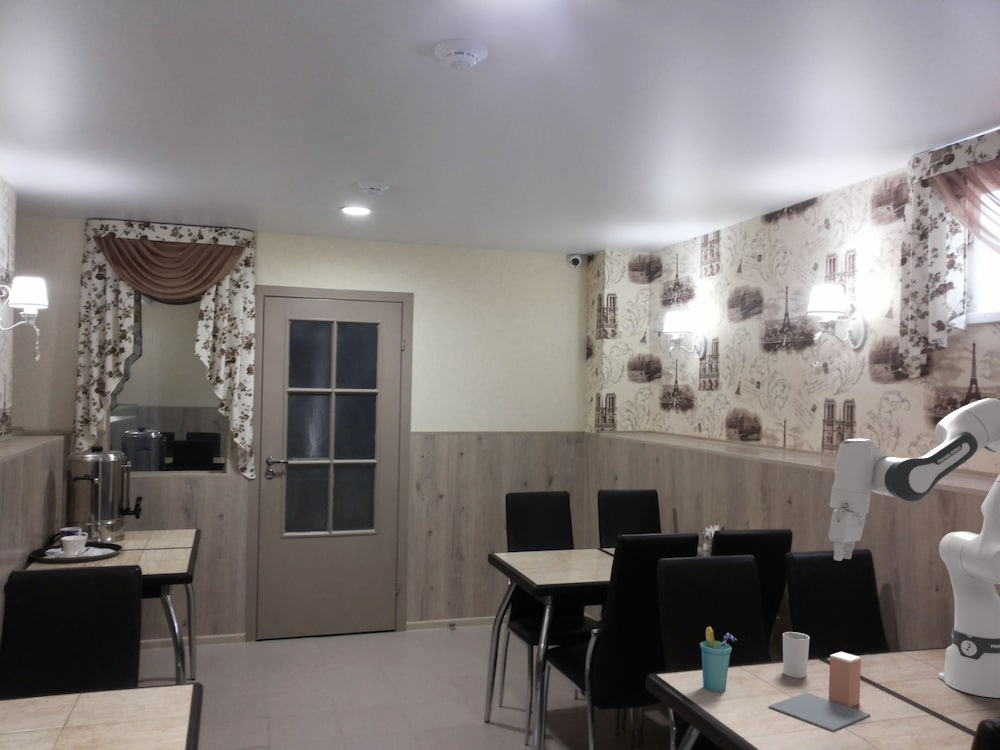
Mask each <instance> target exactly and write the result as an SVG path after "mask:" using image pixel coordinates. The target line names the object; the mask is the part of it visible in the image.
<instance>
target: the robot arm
mask: <svg viewBox="0 0 1000 750" xmlns="http://www.w3.org/2000/svg"><path fill="white" fill-rule="evenodd" d="M934 430H935V431H934V436H935V440H936V442H937V444H938V446H937V447H935V448H934V449H932V450H930V451H929V452H928V453H926V454H924V455H923V456H921V457H920V456H919V457H912V458H911V457H910V458H909V457H907V458H905V457H895V456H891V455H889V454H888V453H886V452H885V451H883V450H882V449H881V448H879V447H878V446H877V444H875V441H874V440H873V439H868V438H848V439H847V438H846V439H844V440H843V441H842V442H841V443H840V444H839V446H838V450H837V454H836V458H835V463H834V482H833V484H832V488H831V494H830V501H829V507H830V508H833V511H832V514H831V520H830V524H829V530H828V540H829V541H831V542H833V560H834V561H838V562H840V561H843V559H845V560H850V559H851V558H852V556H853V555H852V554H853V550H854V547H855V542H860V541H861V539H862V536H863V531H864V529H865V528H864V527H865V522H866V518H867V514H869V512H870V506H871V505H870V504H871V502H870V501H871V496H872V495H871V494H872V492H873V493H874V494H878V495H882V496H883V495H884V496H887V497H892V498H896V499H897V498H898V499H900V500H903V501H907V502H918V501H920V500H923V499H924V498H925V497H927V496H928V495H929V493H931V491H932V490H933V489H934V487H935V486H936V484H937V483H938V482H939V481H940V480H941V479H943V478H945V477H946V476H948V475H949V474H950V473H951V472H952V471H955V469H958V467H960V466H961V465H963V464H964V463H965V462H967V461H969V460H970V459H971V458H972V457H973V456H974V455H975V454H976V453H977V452H978V451H980V450H982V449H985V450H987V451H990V452H992V453H999V454H1000V399H997V398H993V397H987V398H983V399H980V400H976V401H973V402H970V403H969V404H966V405H964V406H962V407H960V408H958V409H956V410H954V411H953V412H951V413H948V414H947V415H946V416H944V417H943V418H942V419H941V420H939V421H938V423H937V424H936V426H935V429H934ZM980 511H981V513H982V515H983V516H982V517H983V523H982V528H981V531H980V533H979V534H978V533H974V532H971V531H951V532H949V533H947V534H945V535H944V536H943V537H942V539H941V540H940V541H939V546H938V554H939V556H940V558H941V560H942V561H943V563H944V564H945V566H946V569H947V573H948V575H949V579H950V583H951V587H952V592H953V600H954V627H952V629H951V630H952V631H951V643H952V644H951V645H949V646H948V647H946V650H945V659H944V660H945V661H944V668H943V671H942V672H938V678H939V679H940V680H942V681H944V682H945V684H946V685H948V687H951V688H953V689H955V690H958V691H960V692H963V693H965V694H966V693H967V694H970V695H975V696H978V697H979V696H980V697H987V698H997V699H999V698H1000V596H999V594H998V591H997V589H996V587H995V586H996V585H1000V473H999V474H998V475H997V477H996V479H995V480H994V482H993V484H992V485H991V488H990V490H989V492H988V493H987V495H986V497H985V498H984V500H983V502H982V504H981V507H980Z"/></svg>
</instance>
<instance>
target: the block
mask: <svg viewBox="0 0 1000 750" xmlns="http://www.w3.org/2000/svg"><path fill="white" fill-rule="evenodd" d="M829 658H830V659H829V676H828V677H829V678H828V679H829V680H828V681H829V682H828V684H829V685H828V700H830V701H833V702H836V703H839V704H842V705H845V706H848V707H851V708H853V707H854V706H856V705H859V704H860V698H861V697H860V696H861V695H860V694H861V693H860V692H861V668H862V665H861V664H862V663H861V662H862V660H861V659H862V657H860V656H857V655H855V654H851V653H847V652H844V651H839V652H835V653H833V654H830V655H829Z"/></svg>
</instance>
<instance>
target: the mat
mask: <svg viewBox="0 0 1000 750" xmlns="http://www.w3.org/2000/svg"><path fill="white" fill-rule="evenodd" d="M768 708H769V709H772V710H774V711H777V712H780V713H783V714H785V715H787V716H791V717H793V718H796V719H798V720H800V721H804V722H807V723H808V724H812V725H814V726H817V727H820V728H822V729H825V730H828V731H830V732H832V733H833V732H836V731H838V730H840V729H842V728H845V727H847V726H850V725H852V724H855V723H857V722H859V721H860V722H861V721H862V720H864V719H866V718H869V717H871V714H870V713H868V712H865V711H862V710H859V709H856V708H853V707H848V706H845V705H842V704H839V703H836V702H833V701H830V700H829V699H828V698H825V697H822V696H818V695H815V694H812V693H810V692H807V691H806V692H804V693H800V694H799V695H795V696H792V697H790V698H787V699H784V700H781V701H779V702H778V701H777V702H776V703H774V704H771V705H768Z"/></svg>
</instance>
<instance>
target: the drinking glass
mask: <svg viewBox="0 0 1000 750" xmlns="http://www.w3.org/2000/svg"><path fill="white" fill-rule="evenodd" d="M809 648H810V636H809V635H808V634H805V633H801V632H796V631H795V632H793V631H786V632H783V633H782V662H783V663H782V665H783V666H782V667H783V668H782V673H783V672H784V673H783V674H784V675H786V676H788V677H793V678H797V679H798V678H799V679H801V678H802V679H803V678H805V677H807V674H808V661H809V650H810V649H809Z"/></svg>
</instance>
